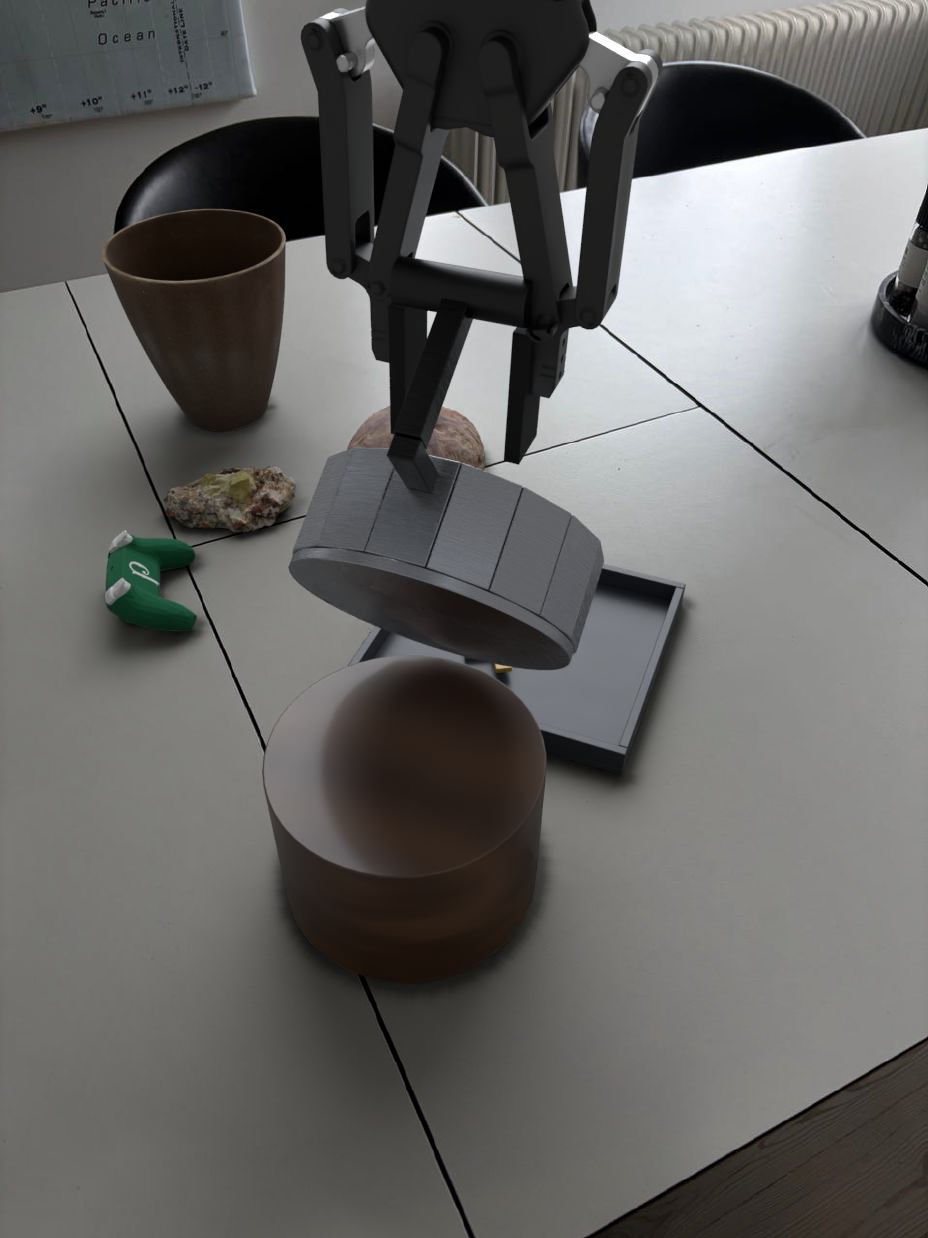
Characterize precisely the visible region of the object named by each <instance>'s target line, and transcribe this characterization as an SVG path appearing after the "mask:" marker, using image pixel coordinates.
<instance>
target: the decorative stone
mask: <svg viewBox="0 0 928 1238" xmlns="http://www.w3.org/2000/svg"><path fill="white" fill-rule="evenodd" d="M480 435H481V434H480V433H479V431H478V430H477V428H476V426H475V425H474V423H473V422H472V421H471V420H470V419H469V418H468V417H466V416H465V415H464V414H462V413H460V412H459V411H457V410H454V409H451V408H447V407H444V406H442V408H441V411H440V414H439V417H438V419H437V422H436V425H435V428H434V431H433V433H432V436H431V439H430V442H429V445H428V447H427V449H426V451H427V453H428V454H429V455H430V456H435V457H439V458H444V459H448V460H453V461H457V462H461V464H462V463H464V464H467V465H470V466H472V467H475V468H478V469H480V470H483V471H485V469H486V453H485V446H484V443H483V441H482V439H481V436H480ZM393 436H394V434H391V425H390V405H389V406H386V407H384V408H381V409H380V410H378V411H376V412H374V413H373V414H372V415H371V416H369V417H368V418H367V419H366V420H364V422H363V423H362V424H361V425H360V427H359V428H358V429H357V431H356V433H354V435H353V436H352V438H351V439H350V441H349V443H348V445H347V449H346V450H348V449H351V448H355V447H360V448H389V447H390V445H391V442H392V439H393Z"/></svg>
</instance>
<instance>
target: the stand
mask: <svg viewBox="0 0 928 1238" xmlns="http://www.w3.org/2000/svg"><path fill="white" fill-rule="evenodd" d="M547 768H548V767H547V752H546V750H545V744H544V739H543V736H542V734H541V731H540V728H539V726H538V724H537V722H536V720H535V718H534V716H533V715H532V713H531V712H530V710H529V709H528V708H527V706H526V705H525V704H524V702H523V701H522V700H521V699H520V698H519V697H518V696H517V695H516V694H515V693H514V692H513V691H512V690H511V689H509V688H508V687H507V686H506V685H504V684H503V683H502V682H500V681H499V680H497V679H496V678H494V677H492V676H491V675H489V674H487V673H485V672H483V671H481V670H479V669H476V668H474V667H472V666H469V665H466V664H463V663H460V662H457V661H453V660H448V659H444V658H438V657H431V656H418V655H402V656H389V657H382V658H376V659H371V660H367V661H363V662H359V663H356V664H353V665H351V666H348V665H347V666H345V667H342V668H340V669H338V670H336V671H334V672H332V673H329V674H328V675H326V676H324V677H322V678H321V679H319V680H318V681H316V682H314V683H313V684H312V685H310V686H309V687H308V688H306V689H305V690H304V691H302V692H301V693H300V694H299V695H298V696H296V698H295V699H294V700H293V701H291V702H290V704H289V705H288V706H287V708H285V710H284V711H283V712H282V714H281V715H280V716H279V718H278V719H277V722H275V725H274V727H273V728H272V730H271V733H270V734H269V737H268V740H267V742H266V746H265V751H264V753H263V757H262V768H261V769H262V770H261V771H262V772H261V774H262V785H263V790H264V791H263V792H264V795H265V800H266V804H267V809H268V814H269V818H270V819H269V820H270V824H271V828H272V833H273V837H274V842H275V846H276V851H277V855H278V860H279V865H280V869H281V874H282V879H283V883H284V887H285V888H284V889H285V893H286V896H287V901H288V904H289V908H290V912H291V913H292V916H293V918H294V920H295V922H296V924H297V926H298V928H299V929H300V930H301V932H302V934H303V935H304V936H305V938H306V939H307V940H308V941H309V942H310V944H311V945H312V946H313V947H314V948H315V949H316V950H317V951H318V952H319V953H321V954H322V955H323V956H324V957H326V958H327V959H328V960H329V961H331V962H333V963H334V964H336V965H338V966H339V967H341V968H343V969H345V970H347V971H349V972H352V973H354V974H356V975H359V976H361V977H362V976H363V977H366V978H368V979H372V980H377V981H381V982H382V981H383V982H388V983H401V984H414V983H426V982H427V983H428V982H432V981H437V980H441V979H446V978H448V977H452V976H454V975H458V974H460V973H463V972H465V971H467V970H469V969H471V968H473V967H475V966H477V965H479V964H480V963H482V962H484V961H485V960H487V959H488V958H490V957H491V956H492V955H494V954H495V953H496V952H497V951H498V950H499V949H501V948H502V947H503V946H504V945H505V944H506V943H507V942H508V941H509V940H510V939H511V937H512V936H513V935H514V934H515V933H516V931H517V930H518V929H519V927H520V925H521V924H522V922H523V921H524V919H525V917H526V915H527V913H528V911H529V908H530V907H531V904H532V900H533V897H534V893H535V890H536V883H537V876H538V865H539V864H538V863H539V855H540V843H541V832H542V822H543V812H544V811H543V810H544V800H545V799H544V798H545V790H546V777H547Z"/></svg>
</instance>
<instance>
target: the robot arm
mask: <svg viewBox="0 0 928 1238" xmlns="http://www.w3.org/2000/svg"><path fill="white" fill-rule="evenodd" d="M595 14H596V13H595V12H594V9H593V6H592V3H591V0H366V1H365V5H364V6H361V7H359V8H356V9H352V10H348V9H346V8H343V7H338V8H336V9H333V10H332V11H330V12H327V13H325V14H323V15H321V16H319V17H317V18H315V19H313V20H311V21H308V22H307V23H306V24H304V26H303V27H302V29H301V31H300V41H301V42H300V43H301V46H302V50H303V52H304V56H305V58H306V62H307V65H308V67H309V68H308V69H309V70H310V74H311V76H312V80H313V83H314V85H315V88H316V91H317V103H318V104H317V106H318V107H317V109H318V127H319V144H320V145H319V146H320V166H321V182H322V183H321V185H322V205H323V225H324V226H323V227H324V244H325V264H326V268H327V270H328V272H329V274H331V276H333V277H334V278H336V279H338V280H346V279H349V280H352V281H353V282H355V283H357V284H359V285H360V286H361V287H362V288H363V289H364V290H365V292H366V294H368V297H369V313H370V316H369V317H370V329H371V330H370V337H371V339H370V340H371V341H370V343H371V351H372V354H373V357H374V359H375V361H379V362H383V363H387V364H388V370H389V372H388V373H389V406H390V425H391V434H395V433H394V428H395V425H396V422H397V419H398V417H399V414H400V411H401V409H402V406H403V403H404V400H405V398H406V395H407V392H408V389H409V387H410V384H411V381H412V378H413V376H414V373H415V370H416V367H417V365H418V362H419V359H420V357H421V354H422V351H423V348H424V346H425V343H426V340H427V337H428V311H426V310H421V309H416V308H410V307H405V306H399V305H395V304H394V303H393V302H392V301H391V298H390V293H389V282H390V275H391V271H392V268H393V265H394V263H395V261H396V260H397V259H398V258H399V257H401V256H405V257H411V258H416V255H417V252H418V247H419V243H420V240H421V236H422V232H423V228H424V224H425V221H426V217H427V213H428V208H429V205H430V201H431V197H432V193H433V189H434V185H435V181H436V178H437V174H438V171H439V166H440V162H441V159H442V155H443V151H444V147H445V143H446V139H447V137H448V135H449V134H450V131H451V130H455V129H456V130H457V129H462V128H467V129H469V130H472V131H474V132H475V133H477V134H480V135H482V136H484V137H489V138H493V142H494V148H495V153H496V159H497V163H498V165H499V167H500V168H501V169H503V171H504V175H505V181H506V186H507V193H508V198H509V199H508V200H509V205H510V209H511V215H512V221H513V227H514V233H515V238H516V239H515V240H516V244H517V250H518V256H519V262H520V266H521V267H520V268H521V272H522V276H523V279H527V280H532V281H533V290H532V309H531V324H530V325H529V327H528V328H526V329H524V328H519V327H515V329H514V330H513V331H512V336H511V350H510V365H509V378H508V379H509V380H508V393H507V407H506V423H505V436H504V448H503V449H504V451H503V462H506V463H510V464H514V465H518V466H519V465H520V464H521V462H522V461H523V459H524V457H525V455H526V454H527V452H528V451H529V449H530V447H531V446H532V444H533V442H534V440H535V439H536V437H537V435H538V427H539V425H538V424H539V414H540V404H541V398H544V399H550V398H551V397H552V395H553V394H554V392H555V390H556V389H557V387H558V385H559V384H560V382H561V381H562V379H563V377H564V375H565V368H566V360H567V350H568V342H569V333H570V329H572V328H579V327H580V328H582V329H584V330H588V331H589V330H595V329H597V328H599V326H600V325H601V324H602V322H603V321H604V319H605V317H606V316H607V314H608V313H609V311H610V309H611V308H612V307H613V304H614V303H615V301H616V299H617V296H618V294H619V285H620V277H621V269H622V263H623V262H622V261H623V253H624V248H625V247H624V245H625V239H626V238H625V237H626V232H627V224H628V223H627V222H628V216H629V207H630V201H631V191H632V185H633V184H632V183H633V176H634V168H635V160H636V153H637V152H636V151H637V144H638V137H639V129H640V120H641V119H642V116H643V115H644V112H645V110H646V108H647V106H648V104H649V101H650V99H652V95H653V94H654V91H655V90H656V87H657V86H658V83H659V81H660V79H661V77H662V74H663V71H664V65H663V60H662V58H661V56H660V55H659V53H658V52H657V51H655V50H653V49H650V48H646V49H641V50H639V51H638V52H634V51H632V50H630V49H628V48H626V47H625V46H623V45H621V44H619V43H617V42H616V41H614V40H612V39H610V38H609V37H608V36H605V35H603V34H601V33H599V32H598V23H597V17H596V15H595ZM375 44H376V46H377V47H378V49H379V51H380V52H381V54H382V56H383V58H384V60H385V61H386V63H387V65H388V66H389V69H390V70H391V72H392V74H393V76H394V77H395V79H396V81H397V83H398V84H399V86H400V88H401V90H402V93H401V98H400V102H399V105H398V106H399V107H398V111H397V116H396V120H395V125H394V128H393V129H394V130H393V135H392V139H393V142H394V149H393V153H392V159H391V163H390V168H389V172H388V178H387V181H386V184H385V185H386V186H385V190H384V194H383V198H382V203H381V208H380V212H379V216H378V221H377V226H376V230H375V185H374V183H375V182H374V181H375V180H374V178H375V176H374V117H373V116H374V115H373V114H374V113H373V112H374V111H373V84H372V76H371V70H370V69H371V68H372V67H373V65H374V63H375V60H376V59H375V58H376V55H375V54H376V47H375ZM578 68H580V69H581V70H583V71H584V73H585V74H586V77H587V81H588V88H587V94H586V98H587V99H586V100H587V103H588V105H589V107H590V109H591V110H592V111H593V112H595V113H596V114H598V116H597V118H596V121H595V124H594V128H593V132H592V136H591V141H590V147H589V155H588V166H587V175H586V176H587V177H586V187H585V196H584V197H585V198H584V205H583V207H584V208H583V217H582V228H581V238H580V248H579V257H578V259H579V260H578V267H577V268H578V269H577V279H576V285H574V283H573V282H574V281H573V276H572V268H571V261H570V255H569V248H568V241H567V235H566V233H567V232H566V227H565V221H564V219H565V218H564V214H563V207H562V200H561V192H560V186H559V179H558V178H559V177H558V171H557V164H556V158H555V157H556V156H555V150H554V144H555V139H556V130H555V129H556V128H555V121H554V120H555V119H554V114H553V107H552V101H553V100H554V98H555V97H556V96H557V95H558V94H559V92H560V91H561V89H563V87H564V86H565V85H566V84H567V82H568V80H569V79H570V78H571V77H572V76H573V75H574V73H575V72H576V71H577V70H578Z"/></svg>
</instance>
